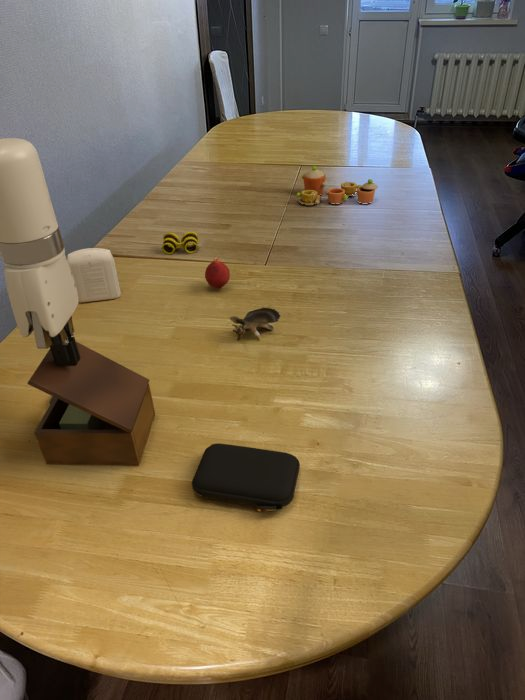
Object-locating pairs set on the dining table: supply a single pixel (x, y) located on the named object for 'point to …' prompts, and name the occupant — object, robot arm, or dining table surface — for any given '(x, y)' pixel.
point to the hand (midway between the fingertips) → (68, 362)
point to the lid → (94, 386)
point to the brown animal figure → (255, 321)
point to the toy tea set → (333, 189)
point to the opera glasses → (173, 243)
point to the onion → (217, 274)
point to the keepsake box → (94, 438)
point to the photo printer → (94, 274)
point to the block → (79, 420)
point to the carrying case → (247, 476)
